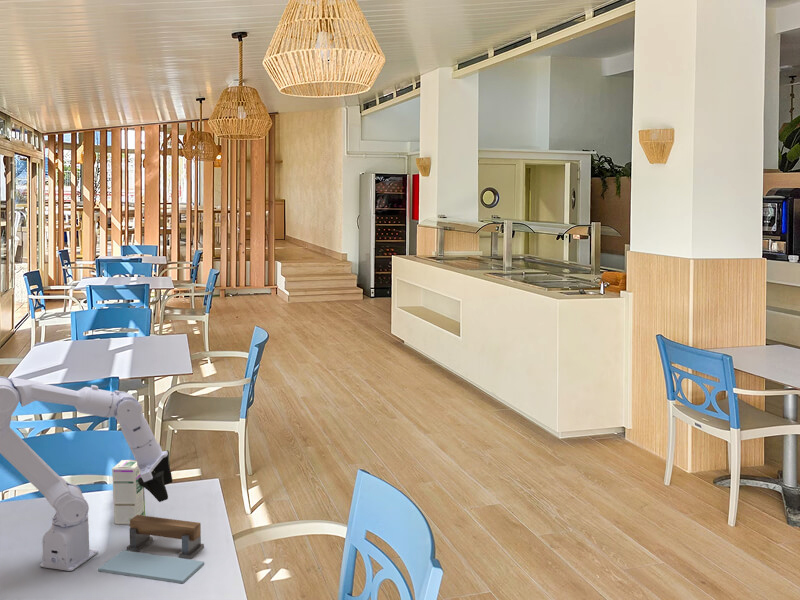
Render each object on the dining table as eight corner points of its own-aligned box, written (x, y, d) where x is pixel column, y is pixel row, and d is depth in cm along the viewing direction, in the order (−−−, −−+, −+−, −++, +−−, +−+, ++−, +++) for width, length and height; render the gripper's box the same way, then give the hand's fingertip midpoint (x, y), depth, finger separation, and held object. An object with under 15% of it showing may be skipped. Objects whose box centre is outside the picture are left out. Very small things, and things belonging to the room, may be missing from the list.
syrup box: (137, 525, 188) (136, 467, 186) (113, 524, 188) (111, 466, 186) (145, 515, 193) (144, 459, 191) (122, 515, 193) (120, 459, 192)
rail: (194, 540, 171) (193, 528, 171) (130, 532, 175) (129, 519, 175) (200, 535, 174) (200, 522, 174) (137, 527, 178) (137, 514, 177)
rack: (190, 558, 170) (190, 537, 169) (126, 550, 174) (126, 528, 173) (204, 547, 176) (203, 526, 175) (141, 539, 180) (141, 518, 179)
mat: (183, 583, 159) (182, 580, 159) (98, 571, 164) (97, 568, 164) (204, 564, 168) (204, 561, 168) (122, 552, 172) (122, 550, 172)
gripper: (153, 450, 168) (178, 501, 172) (163, 422, 181) (186, 470, 185) (122, 461, 167) (148, 512, 171) (134, 432, 181) (158, 480, 185)
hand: (166, 491), depth 178 cm, fingers open, 7 cm apart
